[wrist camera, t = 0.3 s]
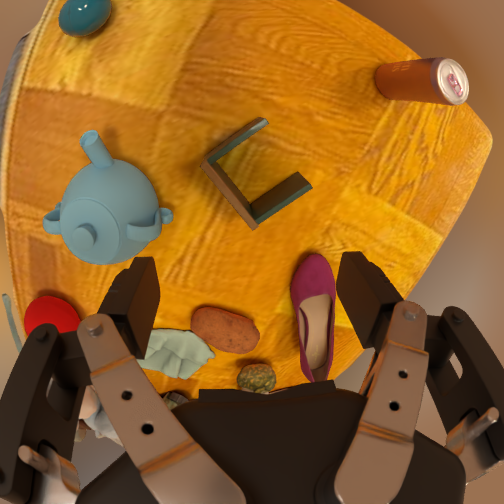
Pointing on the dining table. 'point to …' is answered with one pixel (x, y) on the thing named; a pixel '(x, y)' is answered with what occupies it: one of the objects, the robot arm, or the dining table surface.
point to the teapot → (107, 208)
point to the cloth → (175, 353)
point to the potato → (225, 330)
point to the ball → (83, 16)
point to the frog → (257, 378)
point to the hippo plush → (94, 414)
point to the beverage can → (424, 81)
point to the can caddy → (247, 211)
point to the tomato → (51, 314)
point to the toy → (174, 400)
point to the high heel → (315, 315)
